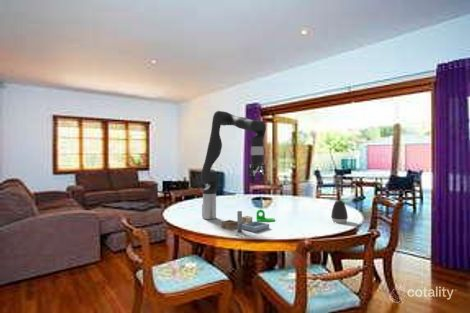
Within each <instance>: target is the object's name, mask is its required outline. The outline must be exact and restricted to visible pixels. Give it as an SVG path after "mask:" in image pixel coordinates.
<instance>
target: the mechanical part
mask: <svg viewBox="0 0 470 313" xmlns="http://www.w3.org/2000/svg"><path fill="white" fill-rule="evenodd" d="M259 214H261V215H259ZM256 221H257V222H262V223H271V222H273V223H274V222H275V217H274V218H273V217H271V218H270V217H266V213H265V211H264V210H263V209H262V208H261V209H258V210H257V211H256Z"/></svg>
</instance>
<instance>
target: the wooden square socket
mask: <svg viewBox="0 0 470 313" xmlns="http://www.w3.org/2000/svg"><path fill="white" fill-rule="evenodd" d="M221 228H222V229H226V230H229V231H230V230H234V229H237V221H236V220H233V219H227V220H223V221H221Z"/></svg>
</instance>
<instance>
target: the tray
mask: <svg viewBox="0 0 470 313" xmlns="http://www.w3.org/2000/svg"><path fill="white" fill-rule="evenodd" d="M269 229H270V223H267V222H257V220H256V221H252V222H250V223H246V224H242V231H247V232H251V233H254V234H257V233H259V232H263V231H266V230H269Z"/></svg>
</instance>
